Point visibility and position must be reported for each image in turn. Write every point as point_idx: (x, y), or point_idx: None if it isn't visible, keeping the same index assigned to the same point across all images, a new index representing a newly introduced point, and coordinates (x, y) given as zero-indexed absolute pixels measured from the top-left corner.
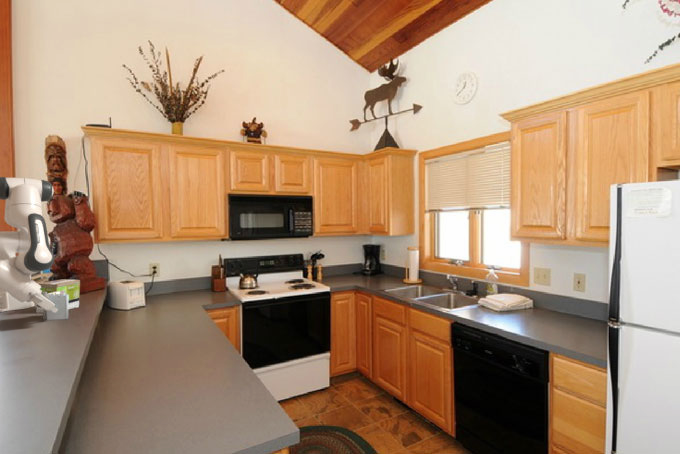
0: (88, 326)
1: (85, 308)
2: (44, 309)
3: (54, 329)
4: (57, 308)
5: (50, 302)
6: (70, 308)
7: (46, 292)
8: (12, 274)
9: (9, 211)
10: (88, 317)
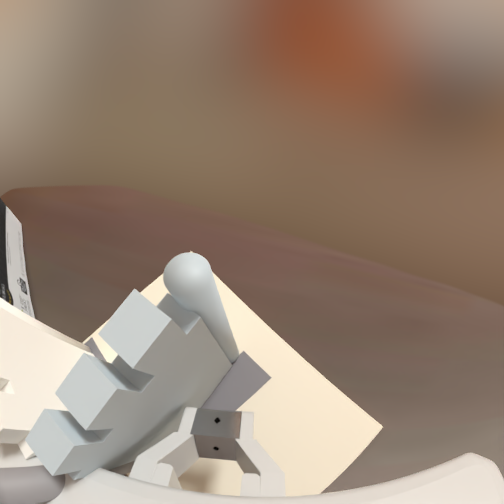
0: (455, 293)
1: (55, 210)
2: (128, 471)
3: (426, 436)
4: (186, 400)
5: (502, 485)
6: (22, 256)
7: (10, 489)
8: None
9: None
10: (255, 245)
